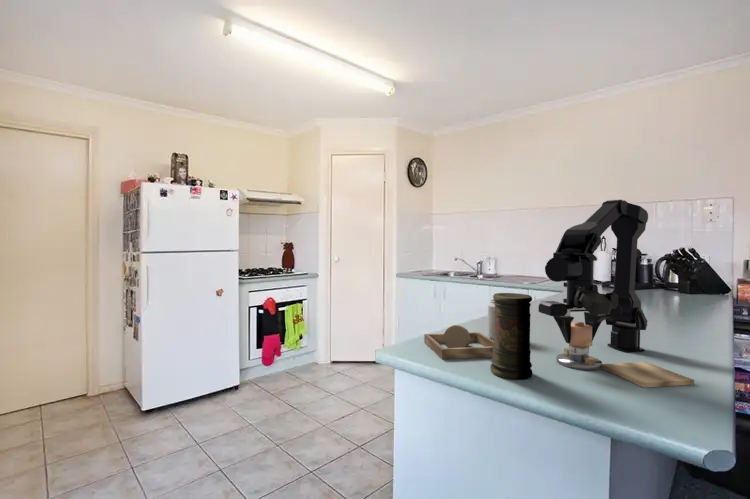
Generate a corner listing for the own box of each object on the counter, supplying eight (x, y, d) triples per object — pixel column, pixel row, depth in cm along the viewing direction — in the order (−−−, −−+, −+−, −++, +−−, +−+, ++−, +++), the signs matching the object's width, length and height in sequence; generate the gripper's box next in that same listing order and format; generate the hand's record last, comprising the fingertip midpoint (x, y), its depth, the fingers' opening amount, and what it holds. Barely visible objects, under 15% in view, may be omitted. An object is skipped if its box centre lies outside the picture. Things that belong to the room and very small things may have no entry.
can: (509, 336, 121) (510, 298, 121) (516, 342, 114) (516, 302, 114) (485, 335, 122) (485, 298, 122) (490, 341, 115) (490, 301, 114)
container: (486, 366, 92) (487, 292, 92) (523, 366, 92) (524, 292, 91) (496, 380, 83) (497, 297, 83) (538, 380, 83) (539, 298, 82)
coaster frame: (478, 340, 116) (478, 332, 116) (504, 356, 100) (504, 346, 100) (424, 342, 113) (424, 334, 113) (441, 359, 97) (441, 349, 97)
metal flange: (582, 356, 100) (583, 337, 100) (612, 369, 90) (612, 348, 90) (547, 358, 99) (548, 338, 98) (573, 371, 89) (573, 350, 89)
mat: (645, 365, 93) (645, 361, 93) (694, 384, 81) (694, 379, 81) (601, 368, 91) (601, 364, 91) (643, 387, 79) (644, 382, 79)
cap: (578, 338, 99) (578, 318, 99) (601, 347, 91) (601, 325, 91) (558, 339, 98) (558, 319, 98) (579, 348, 90) (580, 326, 90)
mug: (475, 345, 112) (479, 319, 106) (462, 367, 105) (465, 341, 99) (451, 335, 115) (453, 310, 110) (437, 357, 108) (439, 331, 103)
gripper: (566, 283, 85) (565, 353, 85) (640, 282, 87) (639, 350, 88) (537, 278, 96) (536, 340, 96) (604, 277, 98) (603, 338, 99)
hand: (578, 342), depth 94 cm, fingers closed on cap, 6 cm apart
